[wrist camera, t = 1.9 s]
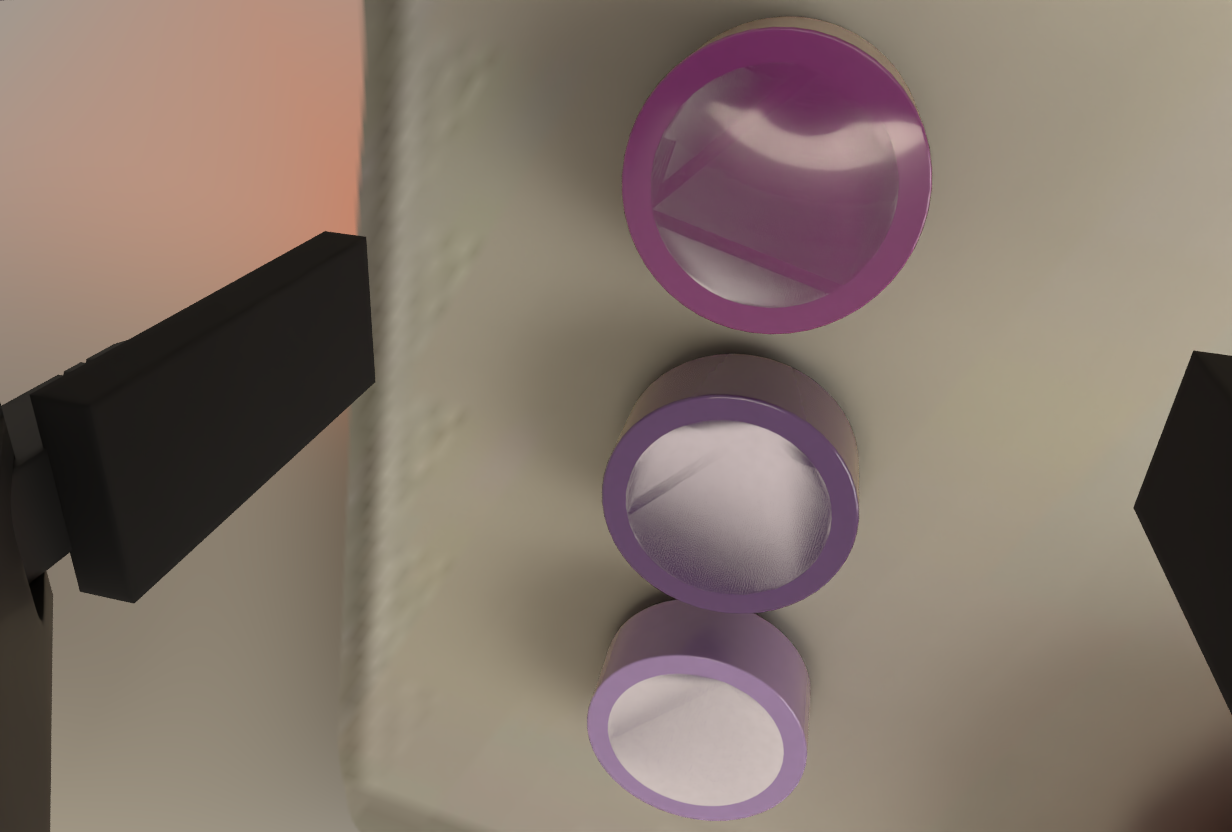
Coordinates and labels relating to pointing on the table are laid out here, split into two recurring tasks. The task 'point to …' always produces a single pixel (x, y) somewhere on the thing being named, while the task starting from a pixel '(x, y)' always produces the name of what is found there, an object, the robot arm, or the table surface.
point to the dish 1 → (778, 176)
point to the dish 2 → (702, 712)
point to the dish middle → (734, 485)
